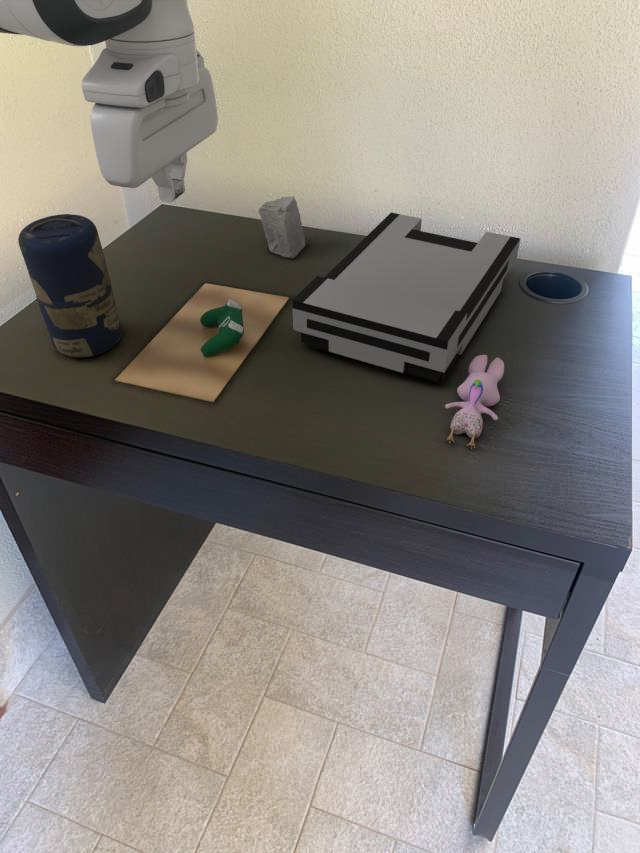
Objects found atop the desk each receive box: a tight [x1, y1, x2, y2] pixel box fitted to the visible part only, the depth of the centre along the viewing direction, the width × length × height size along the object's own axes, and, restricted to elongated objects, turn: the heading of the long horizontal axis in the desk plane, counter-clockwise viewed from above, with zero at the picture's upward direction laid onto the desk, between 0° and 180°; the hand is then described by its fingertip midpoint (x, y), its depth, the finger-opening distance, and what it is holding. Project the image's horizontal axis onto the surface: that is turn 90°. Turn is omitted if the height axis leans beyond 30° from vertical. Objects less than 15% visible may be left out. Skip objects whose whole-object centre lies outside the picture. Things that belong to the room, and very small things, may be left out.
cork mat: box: [114, 282, 290, 403], centre depth 95 cm, size 26×14×1 cm, turn 161°
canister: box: [17, 213, 123, 358], centre depth 88 cm, size 10×10×18 cm
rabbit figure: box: [444, 354, 505, 450], centre depth 81 cm, size 6×6×15 cm
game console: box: [291, 212, 521, 385], centre depth 96 cm, size 21×32×8 cm, turn 152°
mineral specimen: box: [258, 195, 306, 260], centre depth 112 cm, size 7×9×8 cm
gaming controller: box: [200, 299, 244, 357], centre depth 93 cm, size 9×4×6 cm
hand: (172, 197), depth 79 cm, fingers closed
